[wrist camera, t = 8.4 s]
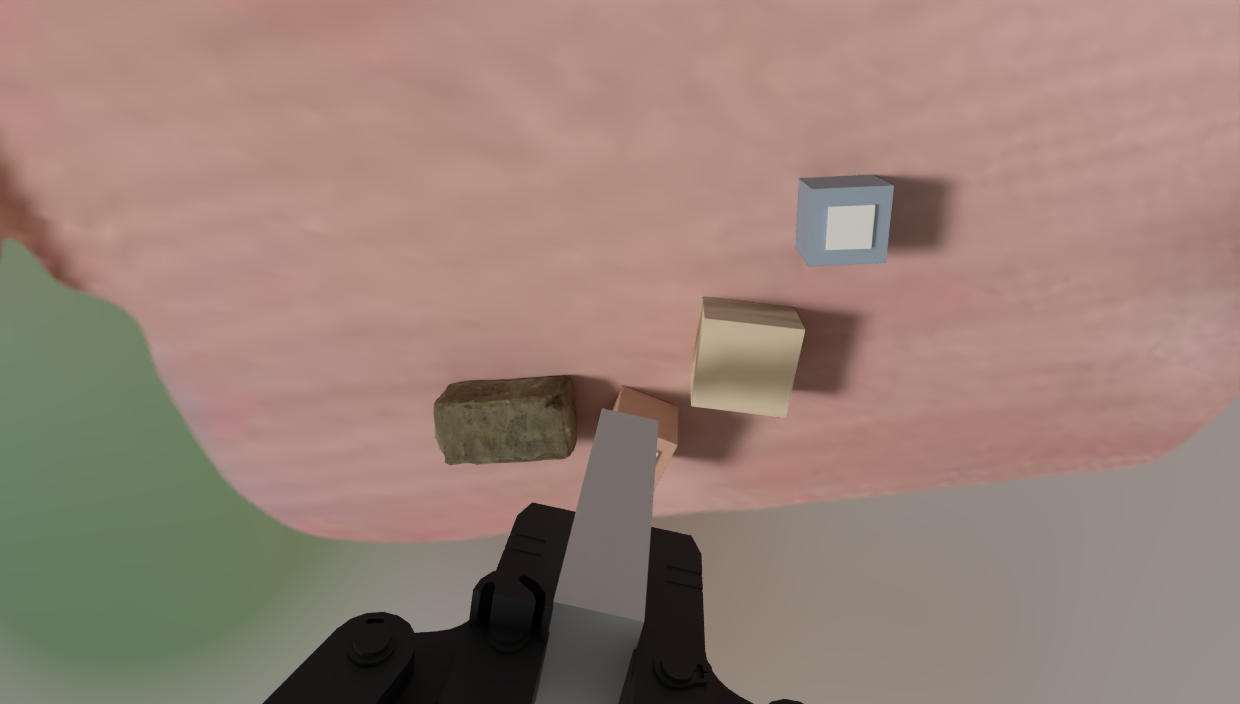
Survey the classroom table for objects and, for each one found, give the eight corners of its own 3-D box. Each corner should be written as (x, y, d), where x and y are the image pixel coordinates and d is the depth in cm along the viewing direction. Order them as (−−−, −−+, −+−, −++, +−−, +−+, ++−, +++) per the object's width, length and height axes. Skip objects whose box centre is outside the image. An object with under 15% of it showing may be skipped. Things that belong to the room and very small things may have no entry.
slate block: (798, 178, 44) (812, 190, 39) (872, 174, 44) (895, 186, 39) (795, 247, 46) (808, 267, 41) (865, 245, 46) (887, 264, 41)
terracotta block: (622, 385, 52) (615, 422, 46) (678, 407, 52) (677, 447, 46) (601, 432, 54) (591, 474, 48) (655, 453, 54) (651, 497, 48)
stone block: (584, 430, 54) (574, 462, 49) (457, 439, 56) (437, 471, 51) (573, 369, 52) (562, 397, 47) (442, 380, 53) (419, 408, 49)
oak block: (702, 296, 48) (704, 318, 44) (793, 306, 48) (805, 329, 43) (690, 377, 51) (691, 406, 47) (776, 387, 51) (785, 417, 46)
